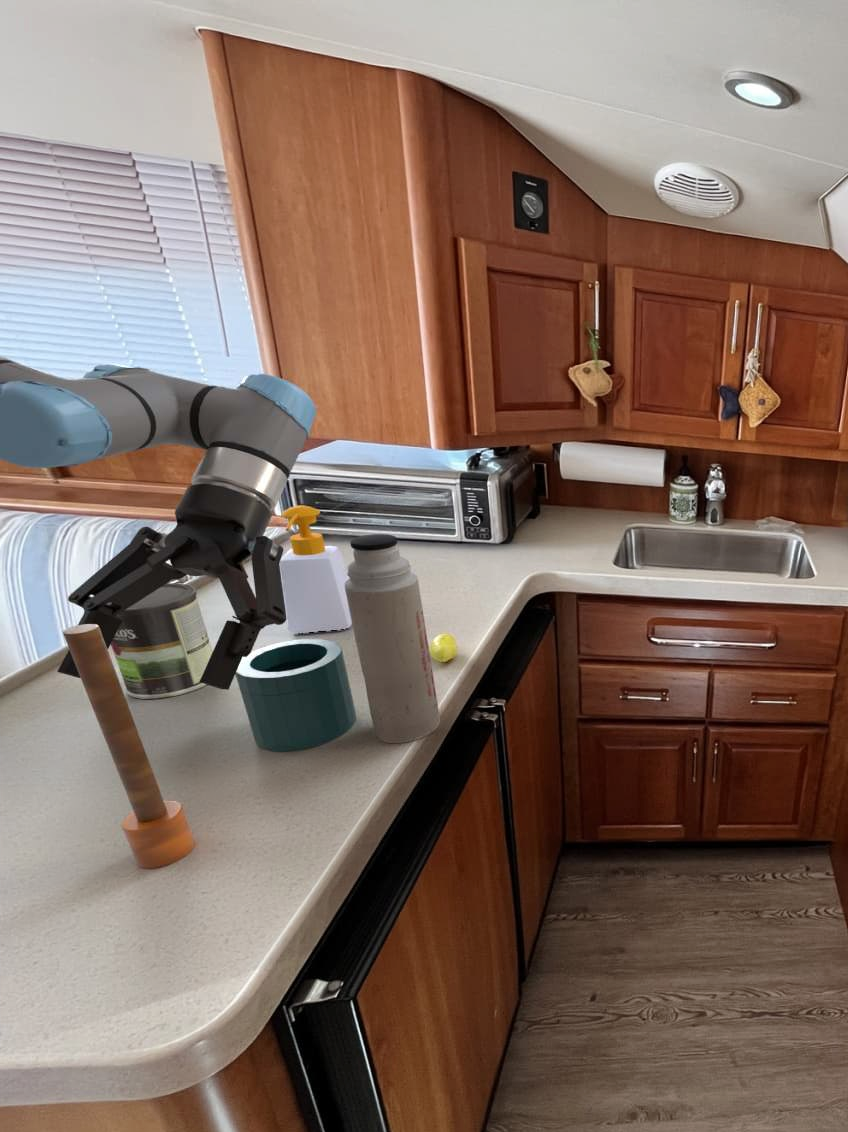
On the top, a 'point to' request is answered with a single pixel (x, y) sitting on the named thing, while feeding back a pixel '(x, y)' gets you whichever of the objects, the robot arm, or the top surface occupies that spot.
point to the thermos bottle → (391, 640)
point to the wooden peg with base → (129, 756)
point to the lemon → (443, 648)
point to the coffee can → (162, 644)
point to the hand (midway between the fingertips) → (144, 681)
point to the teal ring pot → (296, 694)
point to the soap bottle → (313, 578)
